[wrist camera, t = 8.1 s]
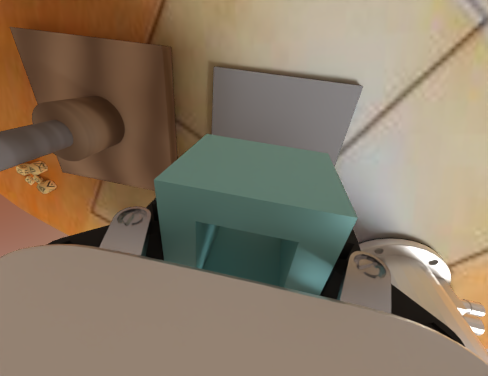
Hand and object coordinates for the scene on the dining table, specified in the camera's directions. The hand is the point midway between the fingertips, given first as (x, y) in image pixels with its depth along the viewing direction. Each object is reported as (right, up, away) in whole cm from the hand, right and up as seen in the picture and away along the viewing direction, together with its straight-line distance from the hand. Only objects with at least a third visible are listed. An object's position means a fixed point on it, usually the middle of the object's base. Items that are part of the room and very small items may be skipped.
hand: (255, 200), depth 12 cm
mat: (+2, +5, +9) cm, 10 cm away
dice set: (-28, +3, +17) cm, 33 cm away
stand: (-14, +8, +11) cm, 20 cm away
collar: (0, 0, 0) cm, 1 cm away
